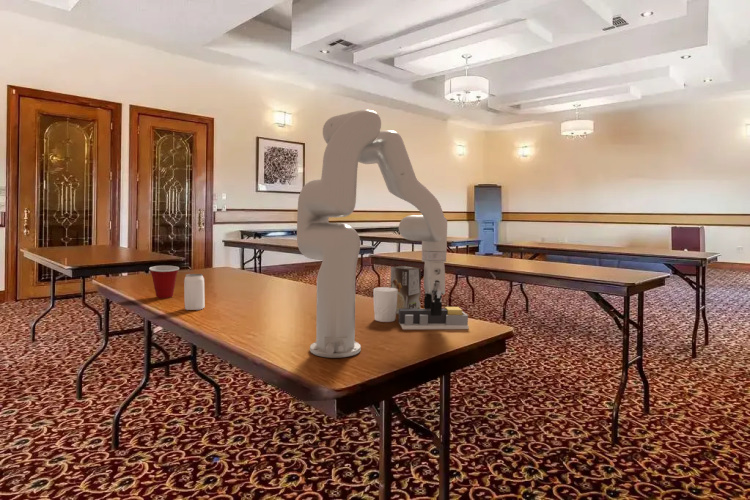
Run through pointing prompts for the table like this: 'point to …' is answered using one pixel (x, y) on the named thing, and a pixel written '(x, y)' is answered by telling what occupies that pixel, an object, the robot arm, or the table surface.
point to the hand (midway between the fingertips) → (432, 311)
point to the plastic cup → (164, 280)
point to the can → (194, 292)
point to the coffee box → (406, 286)
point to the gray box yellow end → (431, 319)
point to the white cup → (385, 303)
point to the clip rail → (451, 323)
